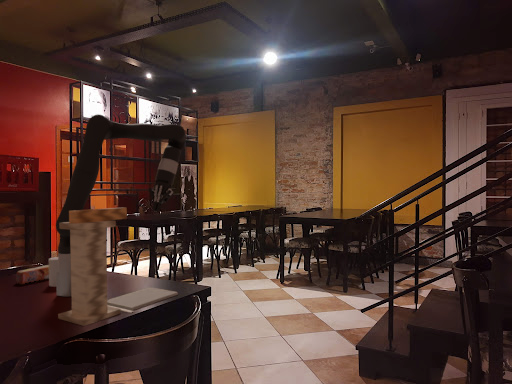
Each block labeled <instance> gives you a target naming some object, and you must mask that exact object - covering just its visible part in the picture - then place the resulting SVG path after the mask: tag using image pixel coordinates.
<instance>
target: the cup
mask: <svg viewBox="0 0 512 384" xmlns="http://www.w3.org/2000/svg"><path fill="white" fill-rule="evenodd" d="M48 265H49V279H48V285H49V286H48V287H54V288H55V287H56V288H57V285H56V272H58V256H54V257H50V258H48Z"/></svg>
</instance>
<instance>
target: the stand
mask: <svg viewBox="0 0 512 384" xmlns="http://www.w3.org/2000/svg"><path fill="white" fill-rule="evenodd" d="M115 227H117V220H107V221H97V222H86V223H69V222H63V223H59V229H69V230H70V247H71V294H72V296H71V309H70V310H67V311H63V312H61V313H58V314H57V315H58V317H57V319H59V320H62V321H65V322H69V323H73V324H75V325H79V326H83V327H85V326H88V325H91V324H94V323H97V322H99V321H102V320H105V319H108V318H112V317H113V316H117V315H120V314H121V313H122V311H121V309H119V307H118V308H114V307H110V306H107V300H108V274H107V273H108V271H107V268H108V267H107V263H108V262H107V228H115Z"/></svg>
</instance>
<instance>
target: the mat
mask: <svg viewBox="0 0 512 384" xmlns="http://www.w3.org/2000/svg"><path fill="white" fill-rule="evenodd" d="M178 294H179V293H178V292H177V291H173V290H167V289H162V288H156V287H152V286H151V287H150V286H149V287H146V288H142V289H139V290H136V291H133V292H129V293H126V294H123V295H120V296H119V295H118V296H116V297H112V298H110V299H107V305H110V306H114V307H118V308H123V309H127V310H131V311H134V310H137V309H141V308H143V307H146V306H150V305H152V304H155V303H159V302H160V301H163V300H166V299H170V298H172V297H175V296H178Z"/></svg>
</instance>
